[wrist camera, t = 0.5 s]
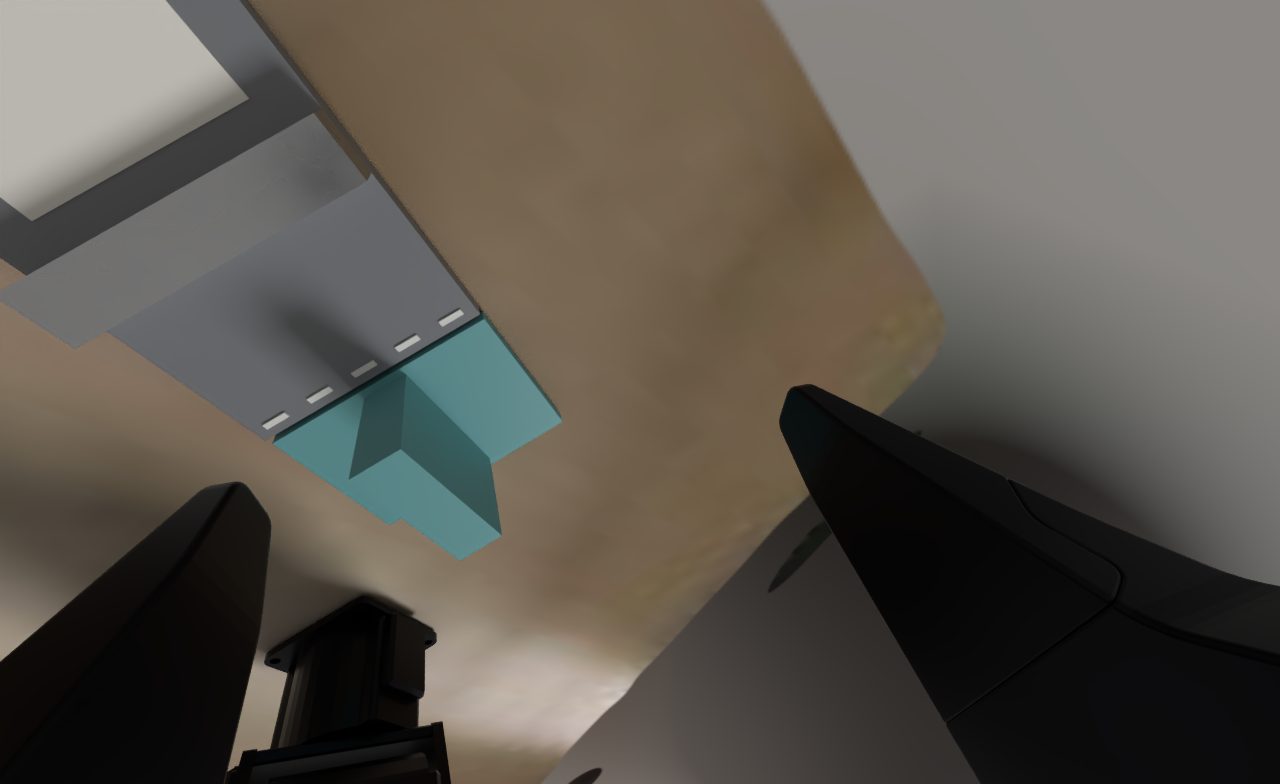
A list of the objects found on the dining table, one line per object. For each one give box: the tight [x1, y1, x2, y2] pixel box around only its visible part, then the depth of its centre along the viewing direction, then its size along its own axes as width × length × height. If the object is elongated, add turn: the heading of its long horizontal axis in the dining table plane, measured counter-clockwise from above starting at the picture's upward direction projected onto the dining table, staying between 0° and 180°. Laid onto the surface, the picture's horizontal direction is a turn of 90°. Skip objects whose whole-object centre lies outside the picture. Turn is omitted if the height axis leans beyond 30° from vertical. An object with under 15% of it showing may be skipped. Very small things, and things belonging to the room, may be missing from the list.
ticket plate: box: [0, 0, 480, 441], centre depth 14 cm, size 10×16×2 cm, turn 24°
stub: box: [272, 311, 563, 561], centre depth 20 cm, size 10×7×6 cm
